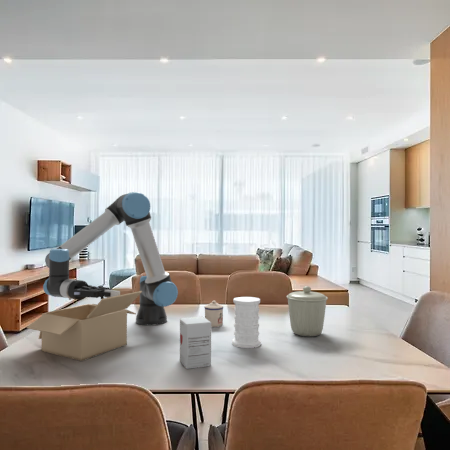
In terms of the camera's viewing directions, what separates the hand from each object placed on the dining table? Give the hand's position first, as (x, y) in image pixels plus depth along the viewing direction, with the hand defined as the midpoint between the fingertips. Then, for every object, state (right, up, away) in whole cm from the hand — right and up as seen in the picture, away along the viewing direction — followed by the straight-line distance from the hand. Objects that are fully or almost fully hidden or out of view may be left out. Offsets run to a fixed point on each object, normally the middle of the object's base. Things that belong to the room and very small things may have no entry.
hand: (118, 294), depth 140 cm
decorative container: (+48, -23, +15) cm, 55 cm away
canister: (+75, -23, +31) cm, 84 cm away
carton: (-17, -22, +9) cm, 29 cm away
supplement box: (+28, -22, -8) cm, 37 cm away
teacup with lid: (+34, -23, +46) cm, 62 cm away
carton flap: (-5, -7, +3) cm, 9 cm away
